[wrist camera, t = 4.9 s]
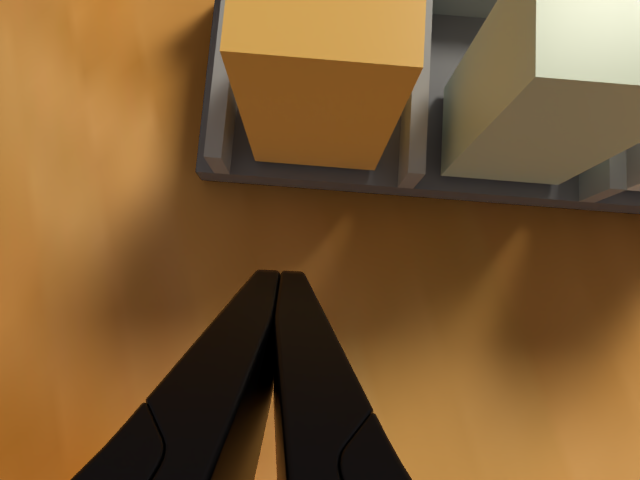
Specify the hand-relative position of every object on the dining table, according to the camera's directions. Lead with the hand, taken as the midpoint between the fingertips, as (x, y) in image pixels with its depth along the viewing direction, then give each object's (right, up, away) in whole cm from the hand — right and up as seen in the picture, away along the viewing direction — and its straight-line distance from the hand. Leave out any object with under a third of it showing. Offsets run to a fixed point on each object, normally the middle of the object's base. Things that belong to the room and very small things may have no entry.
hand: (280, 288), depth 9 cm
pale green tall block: (+8, +5, +10) cm, 14 cm away
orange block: (+1, +5, +10) cm, 12 cm away
